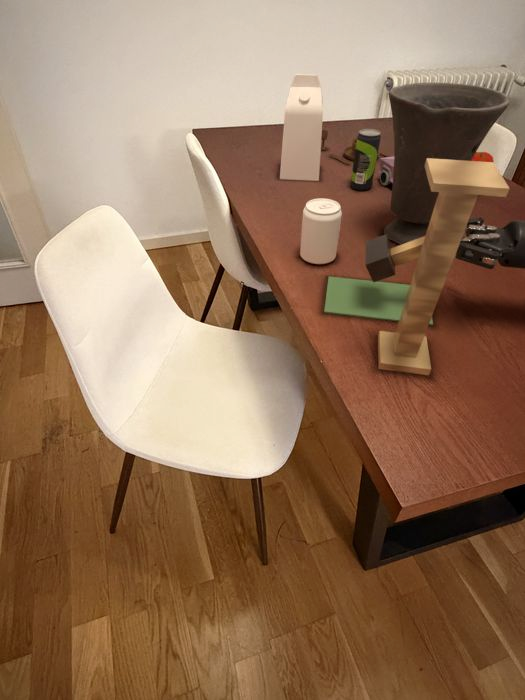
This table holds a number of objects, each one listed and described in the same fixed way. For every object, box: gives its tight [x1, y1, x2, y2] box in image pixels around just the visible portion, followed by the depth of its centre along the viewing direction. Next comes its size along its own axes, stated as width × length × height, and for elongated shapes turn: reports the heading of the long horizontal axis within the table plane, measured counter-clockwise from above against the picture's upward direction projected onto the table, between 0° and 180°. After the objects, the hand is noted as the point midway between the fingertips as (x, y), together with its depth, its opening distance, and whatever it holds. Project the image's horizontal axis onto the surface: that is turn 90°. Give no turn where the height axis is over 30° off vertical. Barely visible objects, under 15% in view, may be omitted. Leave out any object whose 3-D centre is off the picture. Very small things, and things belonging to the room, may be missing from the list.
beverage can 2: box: [349, 128, 382, 192], centre depth 113 cm, size 6×6×15 cm
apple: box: [471, 151, 495, 163], centre depth 113 cm, size 9×8×11 cm
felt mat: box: [323, 276, 434, 326], centre depth 79 cm, size 20×12×1 cm, turn 79°
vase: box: [383, 82, 511, 245], centre depth 87 cm, size 22×22×30 cm
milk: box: [279, 73, 324, 182], centre depth 118 cm, size 12×12×26 cm
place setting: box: [321, 129, 389, 165], centre depth 137 cm, size 18×20×6 cm
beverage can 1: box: [299, 197, 343, 265], centre depth 87 cm, size 8×8×12 cm
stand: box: [377, 158, 510, 376], centre depth 58 cm, size 8×8×30 cm
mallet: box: [364, 231, 466, 282], centre depth 70 cm, size 16×8×4 cm
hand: (427, 237), depth 68 cm, fingers closed on mallet, 2 cm apart
